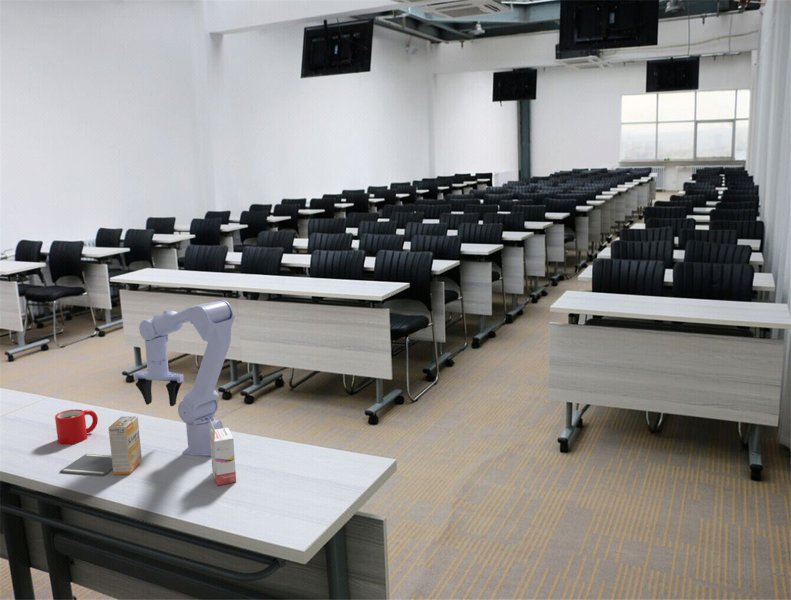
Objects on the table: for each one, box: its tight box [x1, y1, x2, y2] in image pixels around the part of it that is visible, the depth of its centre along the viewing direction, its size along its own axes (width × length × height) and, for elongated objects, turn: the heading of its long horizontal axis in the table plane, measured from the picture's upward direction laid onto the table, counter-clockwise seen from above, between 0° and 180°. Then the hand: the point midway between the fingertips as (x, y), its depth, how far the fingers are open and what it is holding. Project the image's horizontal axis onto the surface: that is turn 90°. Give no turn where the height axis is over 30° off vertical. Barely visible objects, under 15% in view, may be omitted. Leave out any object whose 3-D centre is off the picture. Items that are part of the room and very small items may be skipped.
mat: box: [59, 453, 113, 477], centre depth 186 cm, size 13×11×1 cm
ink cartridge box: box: [210, 420, 237, 486], centre depth 176 cm, size 9×5×15 cm, turn 23°
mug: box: [54, 409, 99, 446], centre depth 205 cm, size 8×12×8 cm, turn 144°
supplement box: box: [108, 415, 143, 475], centre depth 183 cm, size 8×5×13 cm, turn 179°
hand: (160, 404), depth 201 cm, fingers open, 7 cm apart
